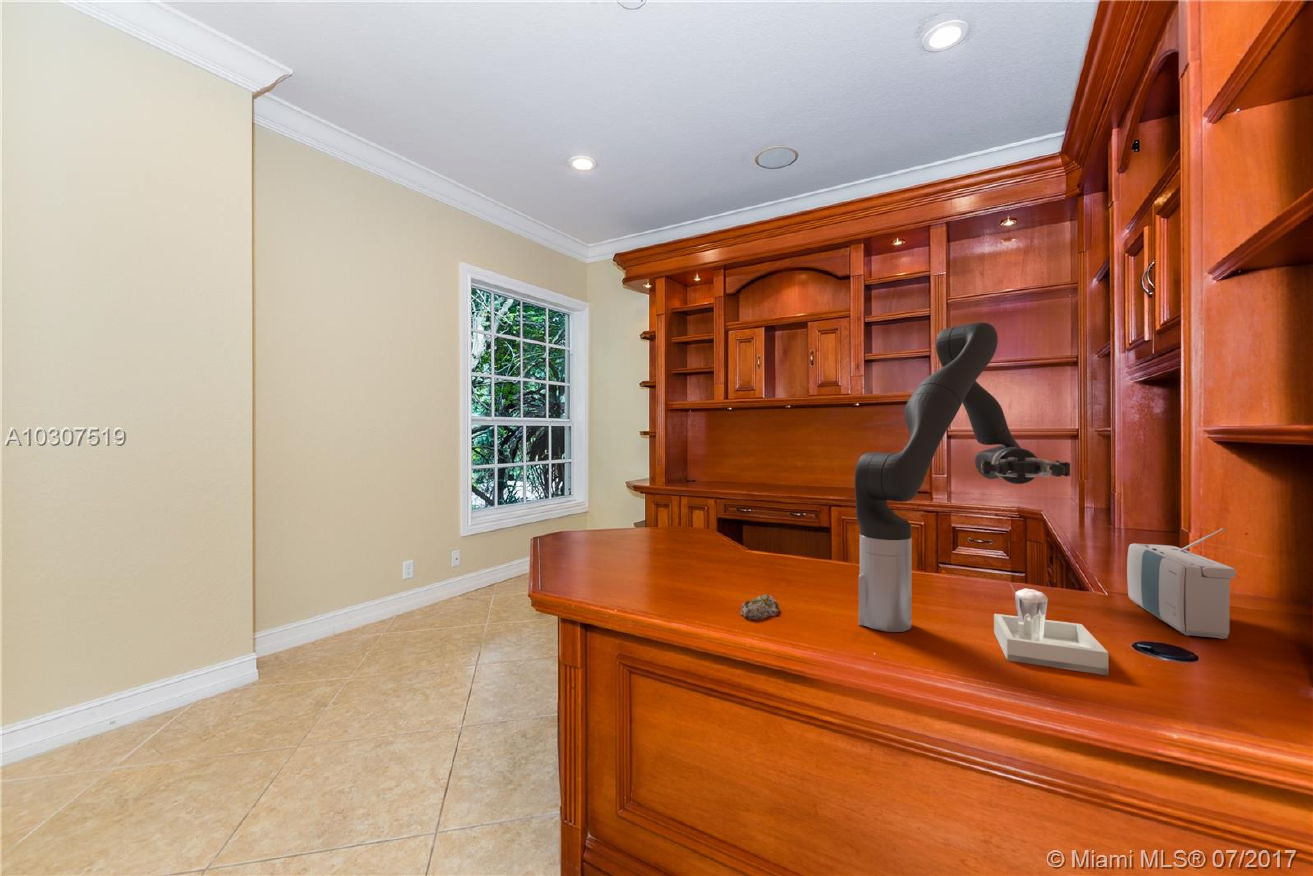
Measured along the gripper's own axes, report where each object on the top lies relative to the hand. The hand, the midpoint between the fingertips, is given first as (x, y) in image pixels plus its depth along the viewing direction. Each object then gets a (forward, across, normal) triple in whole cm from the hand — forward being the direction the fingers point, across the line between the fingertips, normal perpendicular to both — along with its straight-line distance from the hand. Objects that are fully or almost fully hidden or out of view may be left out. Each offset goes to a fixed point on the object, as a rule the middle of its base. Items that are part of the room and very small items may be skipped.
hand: (1031, 470), depth 99 cm
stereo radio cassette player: (-17, +27, +30) cm, 44 cm away
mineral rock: (+11, -49, +30) cm, 59 cm away
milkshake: (+11, -2, +29) cm, 31 cm away
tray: (+11, 0, +30) cm, 32 cm away
